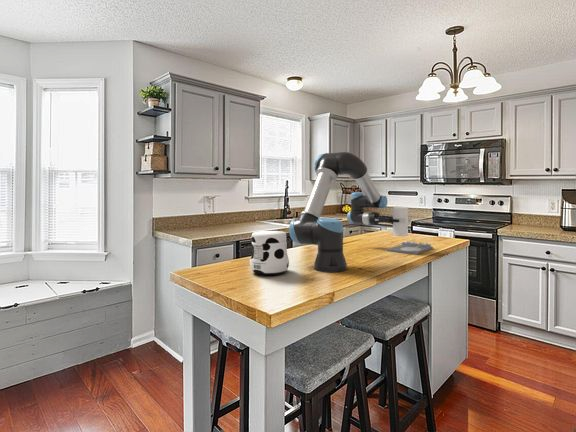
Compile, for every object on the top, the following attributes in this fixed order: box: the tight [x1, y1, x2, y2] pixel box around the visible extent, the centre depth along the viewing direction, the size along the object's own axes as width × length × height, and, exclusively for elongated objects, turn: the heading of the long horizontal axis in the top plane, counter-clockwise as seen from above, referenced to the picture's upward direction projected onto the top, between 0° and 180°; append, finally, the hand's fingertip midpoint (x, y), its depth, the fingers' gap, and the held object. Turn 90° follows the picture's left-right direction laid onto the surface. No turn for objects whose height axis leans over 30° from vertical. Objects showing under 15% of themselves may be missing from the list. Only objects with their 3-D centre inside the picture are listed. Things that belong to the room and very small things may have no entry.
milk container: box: [249, 230, 290, 276], centre depth 157 cm, size 17×17×18 cm
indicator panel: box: [386, 240, 434, 256], centre depth 207 cm, size 24×18×4 cm
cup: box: [392, 206, 409, 237], centre depth 199 cm, size 8×8×16 cm
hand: (408, 220), depth 196 cm, fingers closed on cup, 8 cm apart
